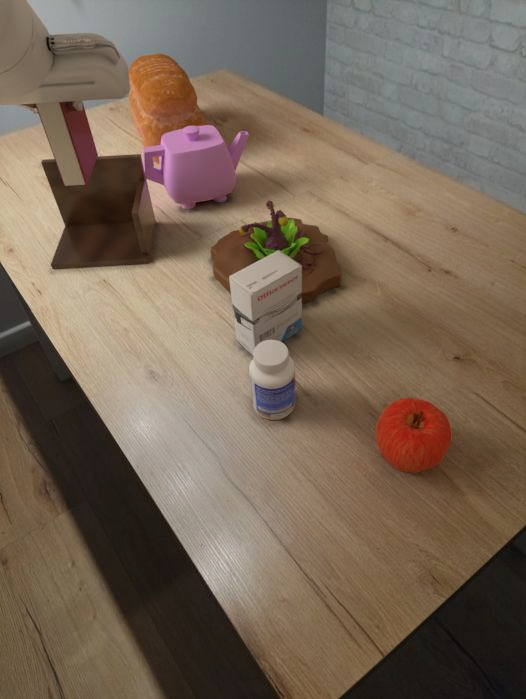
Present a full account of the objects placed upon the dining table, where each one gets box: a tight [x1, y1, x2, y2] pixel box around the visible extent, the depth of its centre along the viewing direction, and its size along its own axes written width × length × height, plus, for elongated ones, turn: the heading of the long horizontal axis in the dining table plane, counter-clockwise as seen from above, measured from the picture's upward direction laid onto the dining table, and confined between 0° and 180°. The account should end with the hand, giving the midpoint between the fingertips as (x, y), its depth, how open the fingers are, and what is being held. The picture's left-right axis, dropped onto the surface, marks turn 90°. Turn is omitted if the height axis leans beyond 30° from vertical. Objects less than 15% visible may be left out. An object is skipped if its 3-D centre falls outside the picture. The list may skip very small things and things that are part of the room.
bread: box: [128, 53, 207, 165], centre depth 110 cm, size 14×26×15 cm, turn 19°
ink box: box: [229, 250, 303, 356], centre depth 69 cm, size 8×5×12 cm, turn 130°
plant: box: [210, 200, 342, 305], centre depth 79 cm, size 20×20×11 cm
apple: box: [375, 397, 453, 473], centre depth 57 cm, size 8×8×8 cm
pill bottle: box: [248, 340, 296, 421], centre depth 61 cm, size 5×5×10 cm
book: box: [35, 101, 99, 186], centre depth 65 cm, size 3×8×12 cm, turn 2°
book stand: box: [40, 153, 157, 270], centre depth 85 cm, size 16×12×13 cm
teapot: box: [142, 124, 250, 210], centre depth 95 cm, size 20×12×13 cm, turn 109°
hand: (58, 106), depth 63 cm, fingers closed on book, 3 cm apart
